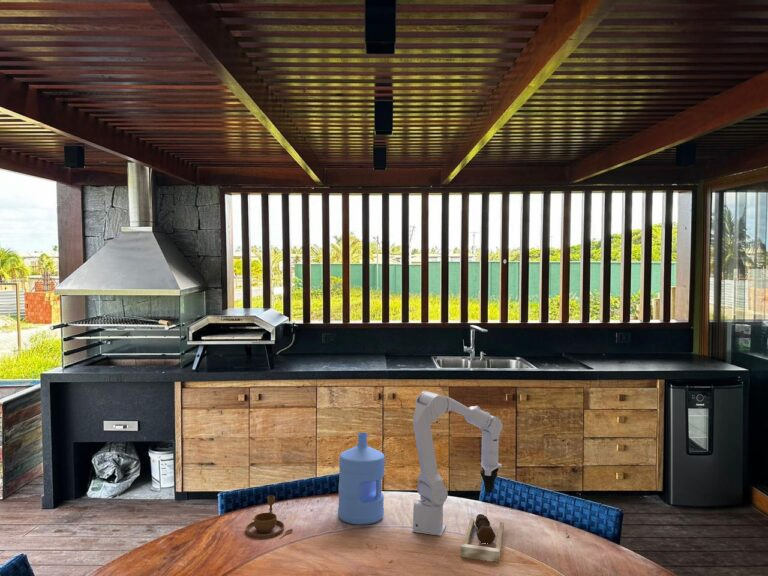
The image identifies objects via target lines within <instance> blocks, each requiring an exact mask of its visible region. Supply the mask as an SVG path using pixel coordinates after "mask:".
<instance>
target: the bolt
mask: <svg viewBox="0 0 768 576" xmlns="http://www.w3.org/2000/svg"><path fill="white" fill-rule="evenodd" d="M474 526H476V528H477V530H478V531H477V532H476V537H477V539H478V540H479V542H480V544H482V543H486V544H485V545H491V543H492V544H493V542H494V541H495V539H496V533H495V532H494V530H493V528H492V526H491V522H490V521H489V518H488V516H487V515H485V514H483V513H482V514H480V513H479V514H477V516H476V518H475V519H474ZM487 543H488V544H487Z"/></svg>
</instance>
